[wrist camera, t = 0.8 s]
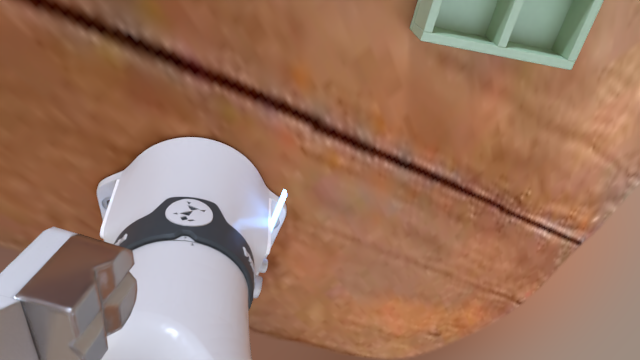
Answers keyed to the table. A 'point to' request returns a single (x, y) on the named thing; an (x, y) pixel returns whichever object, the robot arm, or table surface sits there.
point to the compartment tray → (509, 27)
